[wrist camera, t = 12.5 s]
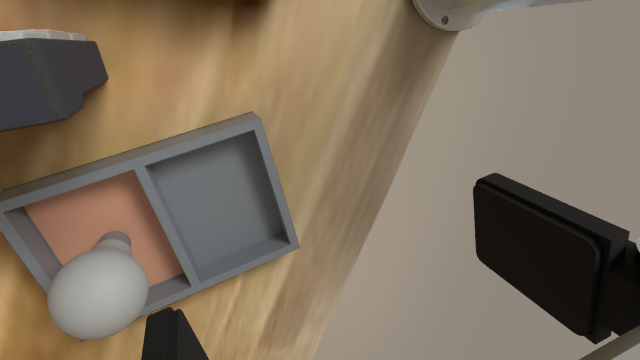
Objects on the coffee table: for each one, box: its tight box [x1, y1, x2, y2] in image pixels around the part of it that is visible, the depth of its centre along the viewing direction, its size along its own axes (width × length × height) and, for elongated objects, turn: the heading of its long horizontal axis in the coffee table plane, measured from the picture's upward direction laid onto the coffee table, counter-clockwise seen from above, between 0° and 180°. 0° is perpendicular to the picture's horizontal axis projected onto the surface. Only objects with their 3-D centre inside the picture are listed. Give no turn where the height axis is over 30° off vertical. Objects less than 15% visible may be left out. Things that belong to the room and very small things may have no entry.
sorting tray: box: [0, 112, 300, 342], centre depth 33 cm, size 21×14×4 cm, turn 103°
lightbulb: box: [47, 231, 149, 340], centre depth 28 cm, size 6×6×11 cm
